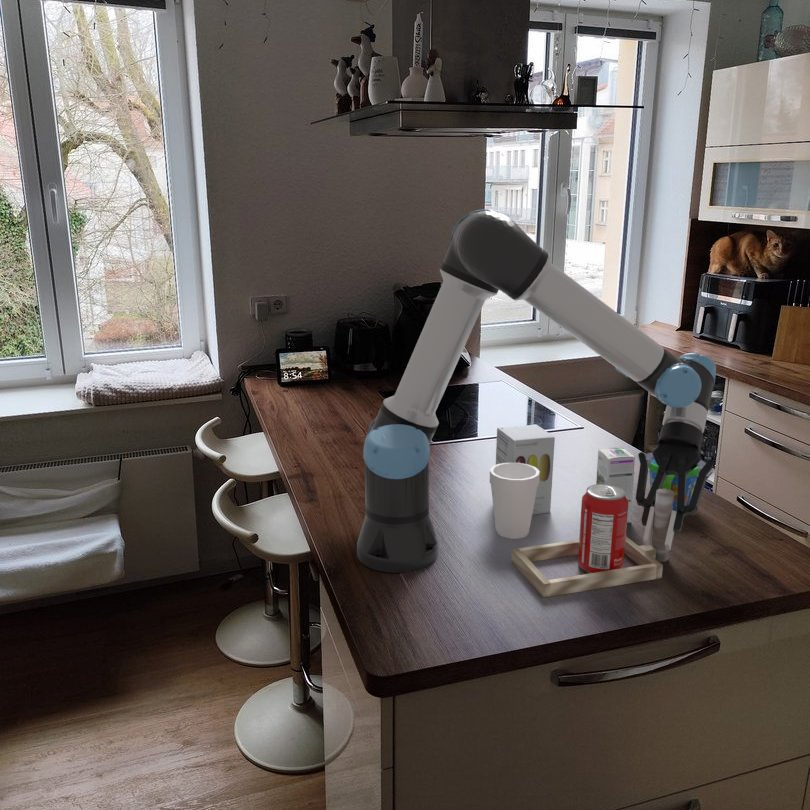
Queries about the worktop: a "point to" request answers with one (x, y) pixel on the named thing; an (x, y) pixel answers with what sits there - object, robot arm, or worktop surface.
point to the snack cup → (675, 483)
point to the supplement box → (529, 457)
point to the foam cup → (513, 497)
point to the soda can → (602, 528)
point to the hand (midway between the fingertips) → (656, 544)
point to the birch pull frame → (641, 555)
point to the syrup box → (617, 471)
